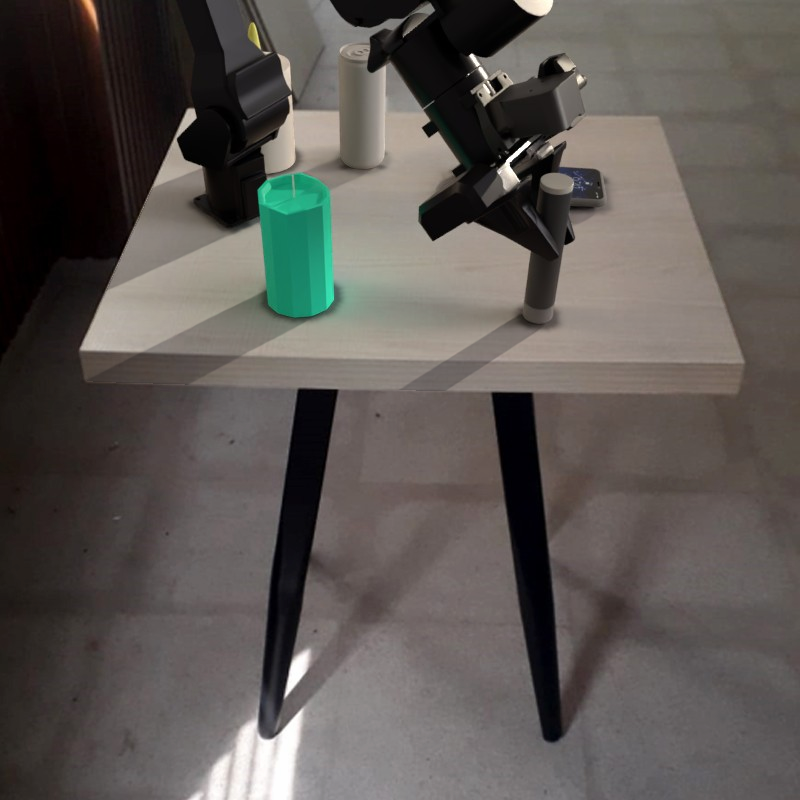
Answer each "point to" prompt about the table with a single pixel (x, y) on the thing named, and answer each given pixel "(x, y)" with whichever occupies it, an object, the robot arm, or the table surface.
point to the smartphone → (586, 186)
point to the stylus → (555, 216)
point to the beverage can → (360, 108)
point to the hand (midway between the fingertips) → (563, 250)
